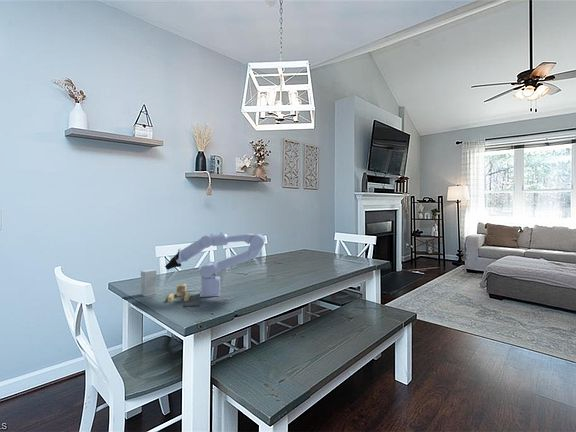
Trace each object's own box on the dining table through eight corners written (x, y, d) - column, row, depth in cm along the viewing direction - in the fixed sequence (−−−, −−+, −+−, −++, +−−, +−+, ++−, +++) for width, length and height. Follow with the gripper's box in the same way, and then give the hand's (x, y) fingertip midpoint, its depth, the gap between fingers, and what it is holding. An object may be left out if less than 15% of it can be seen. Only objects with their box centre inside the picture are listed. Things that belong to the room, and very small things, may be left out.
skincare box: (152, 292, 149) (152, 268, 148) (156, 293, 146) (156, 270, 145) (140, 294, 144) (140, 270, 143) (144, 296, 141) (144, 272, 141)
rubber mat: (200, 301, 136) (200, 300, 136) (198, 306, 129) (198, 304, 129) (186, 302, 134) (186, 300, 134) (183, 306, 128) (183, 305, 128)
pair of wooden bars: (189, 297, 142) (189, 292, 142) (187, 301, 136) (187, 296, 136) (170, 297, 140) (170, 293, 140) (167, 301, 134) (167, 297, 134)
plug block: (186, 293, 147) (186, 283, 147) (185, 296, 143) (185, 286, 143) (178, 293, 146) (178, 284, 146) (176, 296, 142) (176, 286, 142)
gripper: (190, 240, 151) (168, 253, 152) (183, 248, 137) (159, 263, 138) (198, 250, 153) (176, 264, 153) (192, 260, 139) (168, 275, 139)
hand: (168, 265), depth 146 cm, fingers open, 7 cm apart
